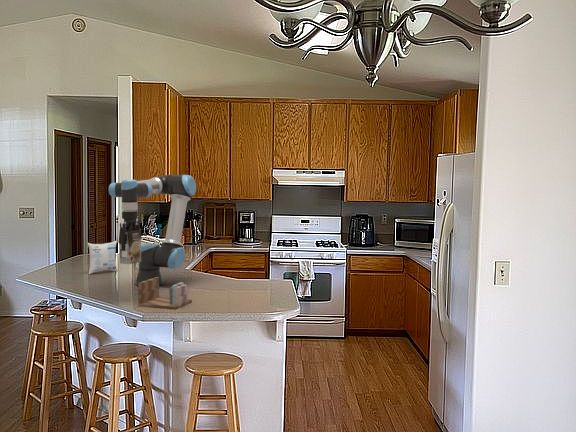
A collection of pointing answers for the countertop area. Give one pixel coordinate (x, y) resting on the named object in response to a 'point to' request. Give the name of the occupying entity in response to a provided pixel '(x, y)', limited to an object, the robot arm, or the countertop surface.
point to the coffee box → (132, 248)
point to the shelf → (150, 297)
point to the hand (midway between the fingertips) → (130, 255)
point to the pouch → (102, 257)
